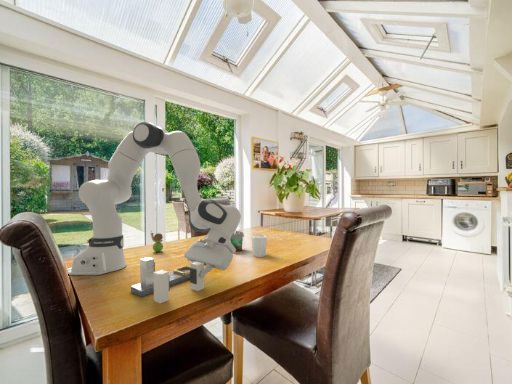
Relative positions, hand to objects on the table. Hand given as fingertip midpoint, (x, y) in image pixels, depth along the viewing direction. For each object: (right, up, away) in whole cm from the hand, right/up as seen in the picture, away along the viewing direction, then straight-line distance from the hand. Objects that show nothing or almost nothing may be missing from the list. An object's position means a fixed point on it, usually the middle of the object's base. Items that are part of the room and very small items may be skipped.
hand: (195, 275), depth 85 cm
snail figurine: (-34, -4, +50) cm, 61 cm away
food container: (+11, -4, +53) cm, 54 cm away
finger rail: (-11, -5, +7) cm, 14 cm away
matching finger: (0, -5, +1) cm, 5 cm away
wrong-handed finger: (-9, -5, -8) cm, 13 cm away
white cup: (+23, -4, +43) cm, 49 cm away
